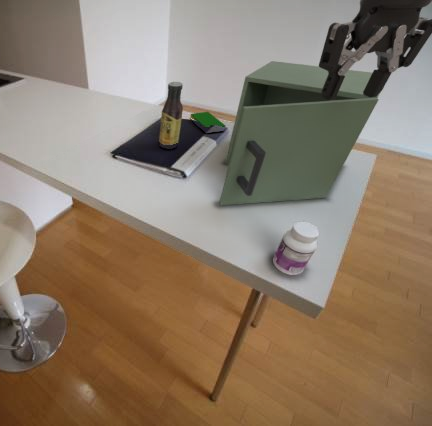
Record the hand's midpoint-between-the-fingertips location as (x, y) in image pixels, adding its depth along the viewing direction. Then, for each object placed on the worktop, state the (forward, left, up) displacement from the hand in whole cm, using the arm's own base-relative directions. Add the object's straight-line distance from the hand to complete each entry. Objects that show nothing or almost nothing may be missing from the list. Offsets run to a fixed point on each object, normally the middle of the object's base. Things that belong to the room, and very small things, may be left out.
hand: (348, 96), depth 47 cm
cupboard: (+9, -25, -28) cm, 38 cm away
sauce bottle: (+41, -15, -28) cm, 52 cm away
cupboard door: (+4, -4, -28) cm, 28 cm away
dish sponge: (+39, -37, -28) cm, 61 cm away
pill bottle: (-4, +13, -28) cm, 31 cm away
